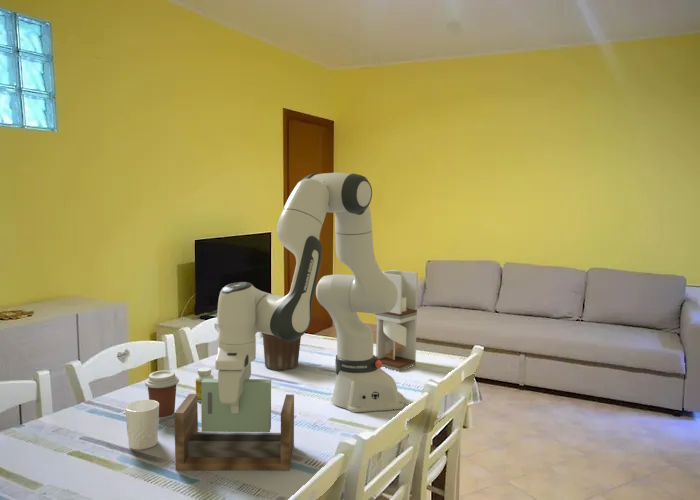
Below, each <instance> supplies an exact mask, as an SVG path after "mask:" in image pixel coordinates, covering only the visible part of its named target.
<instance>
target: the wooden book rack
mask: <svg viewBox="0 0 700 500" xmlns="http://www.w3.org/2000/svg"><path fill="white" fill-rule="evenodd" d="M198 413H199V411H198V401H197V394H196V393H189V394H187V396H186V397H185V399H184V400H183V401H182V402H181V404H180V405H179V407H177V409H175V413H174V416H173V417H174V454H175V455H174V456H175V458H174V459H175V460H174V463H175V467H174V468H175V471H283V472H284V471H285V472H286V471H287V472H288V471H290V469H291V463H292V459H293V454H294V447H295V394H285V398H284V400H283V405H282V408H281V410H280V432H202V431H200V432H199V420H198V419H199V418H198Z"/></svg>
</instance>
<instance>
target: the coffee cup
mask: <svg viewBox="0 0 700 500" xmlns="http://www.w3.org/2000/svg"><path fill="white" fill-rule="evenodd" d="M179 382H180V379H179V377H178V376H176V373H175V372H174V371H172V370H157V371H153V372H151V373H150V374H149V375H148V378H146V380H145V381H144V385H145V387H147V393H148V400H154V401H157V402H158V403H159V421H160V420H161V421H162V420H167V419H171V418H173V417H175V416H174V413H175V412H176V396H177V385H178V384H179Z"/></svg>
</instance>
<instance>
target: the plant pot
mask: <svg viewBox="0 0 700 500" xmlns="http://www.w3.org/2000/svg"><path fill="white" fill-rule="evenodd" d="M261 335H262V343H263V356H264V357H263V358H264V366H265V368H267V369H269V370H273V371H279V370H283V371H288V370H294V369H297V367H298V365H299V359H300V349H301V348H300V347H301V339H302V336H301V337H300V338H298V339H297V340H294V341H286V340H283V339H281V338H278V337H276V336H273V335H269V334H266V333H262V332H261Z"/></svg>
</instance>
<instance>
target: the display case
mask: <svg viewBox="0 0 700 500" xmlns="http://www.w3.org/2000/svg"><path fill="white" fill-rule="evenodd" d="M381 271H382V272H383V273H384V275H385V276H386V277H387V278H389V279H390V280H391V281H392V282H393V283H394V284H395V286H396V288H397V291H398V300H397V303H396V305H395V307H394V308H393V309H392V310H391V311H390V312H386V313H376V314H374V319H376V343H375V346H376V349H375V353H376V354H375V356H376V355H377V356H378V358H379V359H380V361H381V362H382V367H381V368H383V367H385V368H384V369H387V368H388V370H391V369H392V370H391V371H394V370H396V371H395V372H398V371H399V372H401V371H400V370H402V371H404V370H406V369H405V368H407V369H409V368H411V367H410V366H412V365H414V366H416V358H417V356H416V355H417V354H416V353H417V351H416V350H417V324H418V322H417V321H418V317H417V316H418V287H419V286H418V282H419V279H418V278H419V273H418V272H413V271H404V270H397V269H390V270H384V271H383V270H381ZM408 367H409V368H408ZM412 367H413V366H412ZM403 369H404V370H403Z"/></svg>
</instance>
